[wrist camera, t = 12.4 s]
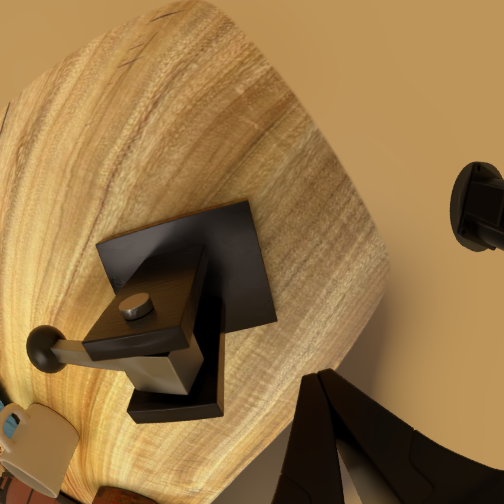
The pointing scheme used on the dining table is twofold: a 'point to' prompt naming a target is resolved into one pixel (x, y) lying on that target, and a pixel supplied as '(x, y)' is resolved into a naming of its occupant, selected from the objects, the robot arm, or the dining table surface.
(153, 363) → the lever
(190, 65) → the dining table surface
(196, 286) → the bracket
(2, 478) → the toaster
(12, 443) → the mug
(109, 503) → the food container
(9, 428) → the blue flat round piece
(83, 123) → the dining table surface
